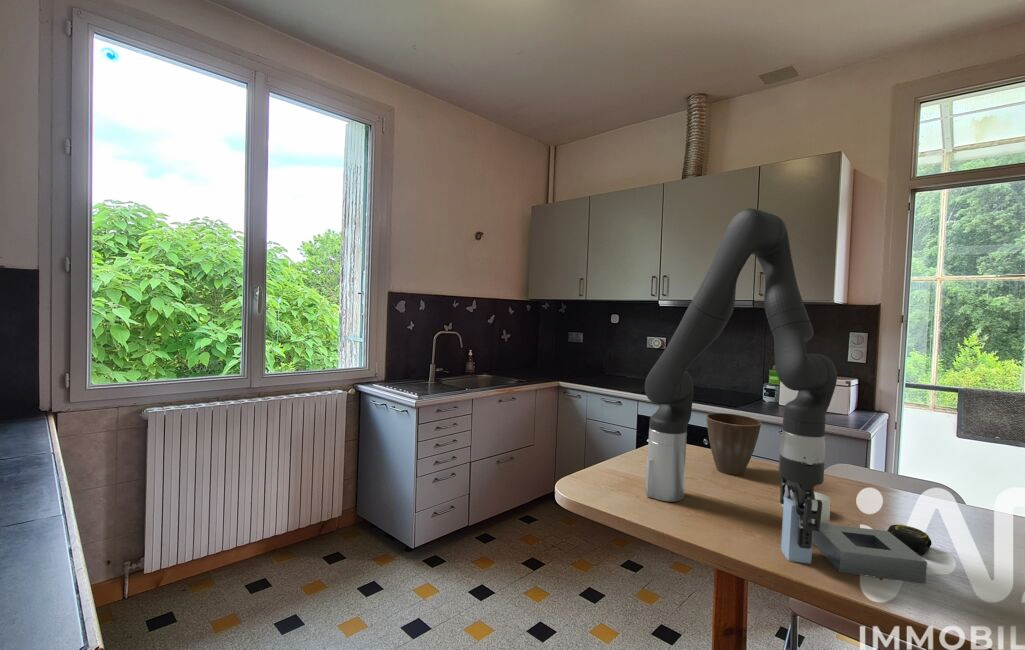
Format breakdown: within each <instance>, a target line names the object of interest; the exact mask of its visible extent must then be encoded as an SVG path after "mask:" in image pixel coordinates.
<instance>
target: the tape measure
mask: <svg viewBox="0 0 1025 650" xmlns="http://www.w3.org/2000/svg"><path fill="white" fill-rule="evenodd" d="M886 531H889V532H890V533H891V534H892V535H894V536H895V537H896V538H898V539H899V540H900V541H901V542H903V543H904V544H905V545H906V546H908V547H909V548H910V549H911V550H913V551H914V552H915V553H916V554H918V555H919V556H925V555H926V553H927V552H929V549H930V548H931V546H932V544H933V543H932V539H931V538H930V536H929V534H928V533H926V532H924V531H923V530H921V529H918V528H917V527H912V526H909V525H904V524H891V525H889V527H888V528H887V530H886Z"/></svg>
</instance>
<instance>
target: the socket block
mask: <svg viewBox="0 0 1025 650" xmlns="http://www.w3.org/2000/svg"><path fill="white" fill-rule="evenodd" d="M812 544H814V545H815V546H816V548H818V550H819V551H820V553H821V554H822V555H823V556H825V558H826V559H827V560H828V561H829V562H830V563H831V564H832V565H833V567H834V568H835V569H836V571H838V573H842V574H848V575H849V574H850V575H856V576H857V575H858V576H864V575H868V576H867V577H872V576H875V577H874V578H880V579H881V578H882V579H889V580H894V581H895V580H897V581H903V582H910V583H911V582H912V583H920V584H926V581H927V569H928V561H927V560H925V559H924V558H923V557H922V556H921V555H920V554H918V553H915V552H914V551H913V550H911V549H910V548H909V547H908V546H906V545H905V544H904V543H903V542H901V541H900V540H899V539H898V538H896V537H895V536H894V535H892V534H891V533H890V532H889V531H887V530H884V529H883V530H881V529H874V528H864V527H855V526H847V525H846V526H845V525H839V524H830V523H829V524H821V523H820V530H819V531H813V541H812Z"/></svg>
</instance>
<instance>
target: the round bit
mask: <svg viewBox="0 0 1025 650" xmlns="http://www.w3.org/2000/svg"><path fill="white" fill-rule="evenodd" d="M814 494H815V499H816V500H821V501H822V512H821V521H820V523H821V524H830V517H831V516H830V515H831V500H832V499H831V497H829V496H827V495H826V494H823V493H820V492H816V491H814ZM814 522H815V519H814Z"/></svg>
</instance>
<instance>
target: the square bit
mask: <svg viewBox="0 0 1025 650" xmlns="http://www.w3.org/2000/svg"><path fill="white" fill-rule="evenodd" d="M793 507H794V505H793V501H792V500H791V499H790V498H786V497H784V506H783V507H782V509H783V511H782V525H781V528H782V529H781V543H780V544H781V545H780V551H781V552H782V554H783V555H784V556H785V558H786V560H787V561H789V562H796V563H802V564H804V563H805V564H809V565H810V564H812V559H813V558H812V557H813V546H812V547H811V548H810V549H806V548H800V547H799V546H798V544H797V542H798V527H799V526H798V517H797V515H795V514H794V508H793ZM799 510H801V511H804V509H799ZM802 517H803V516H802ZM808 523H809V522H808ZM812 541H813V531H812Z"/></svg>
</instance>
